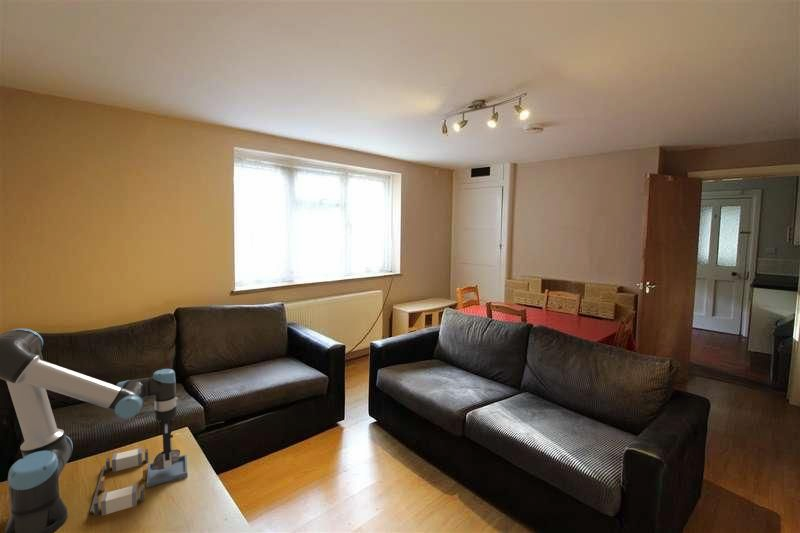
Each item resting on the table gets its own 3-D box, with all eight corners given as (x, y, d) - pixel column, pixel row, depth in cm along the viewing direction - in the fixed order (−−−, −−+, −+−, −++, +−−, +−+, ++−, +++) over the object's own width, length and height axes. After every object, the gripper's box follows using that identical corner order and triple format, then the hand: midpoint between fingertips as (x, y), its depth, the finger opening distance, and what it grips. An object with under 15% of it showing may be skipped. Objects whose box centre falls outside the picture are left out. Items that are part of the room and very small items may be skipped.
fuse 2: (101, 516, 131) (100, 501, 130) (104, 506, 136) (103, 492, 135) (136, 505, 136) (136, 492, 136) (137, 496, 141) (137, 483, 140)
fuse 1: (112, 472, 154) (111, 459, 153) (114, 465, 159) (113, 453, 158) (141, 465, 159) (141, 453, 159) (142, 458, 164) (142, 446, 163)
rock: (183, 459, 154) (180, 451, 153) (153, 475, 148) (149, 466, 147) (180, 450, 161) (177, 442, 160) (151, 465, 155) (148, 456, 154)
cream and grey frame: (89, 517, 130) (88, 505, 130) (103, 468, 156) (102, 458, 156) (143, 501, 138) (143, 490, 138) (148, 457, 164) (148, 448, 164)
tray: (146, 488, 145) (146, 483, 145) (148, 468, 157) (148, 463, 157) (187, 476, 152) (187, 472, 152) (186, 458, 164) (186, 454, 164)
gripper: (176, 417, 145) (178, 472, 147) (176, 395, 163) (178, 444, 165) (153, 421, 141) (156, 478, 143) (155, 399, 159) (158, 449, 162)
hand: (167, 460), depth 154 cm, fingers closed on rock, 9 cm apart
